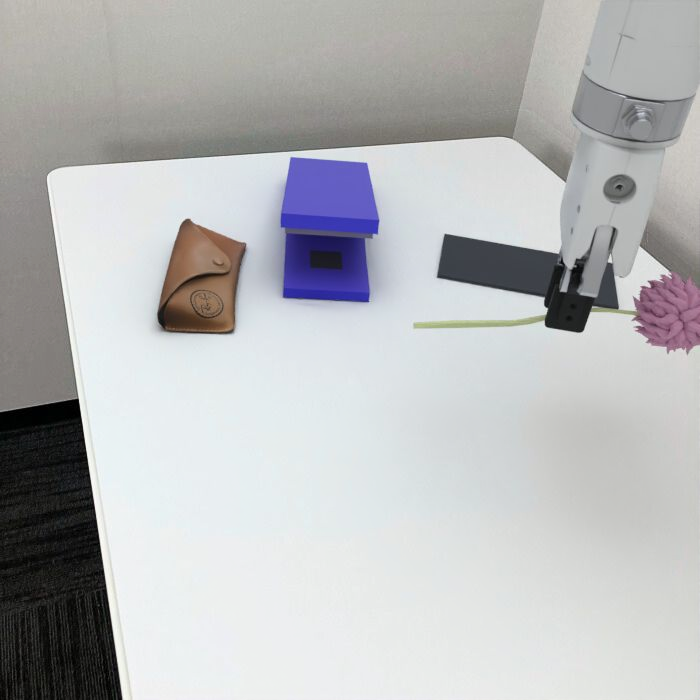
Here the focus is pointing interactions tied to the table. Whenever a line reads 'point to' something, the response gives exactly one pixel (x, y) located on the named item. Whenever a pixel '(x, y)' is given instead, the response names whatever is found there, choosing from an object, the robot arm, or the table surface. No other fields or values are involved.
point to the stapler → (327, 229)
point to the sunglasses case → (201, 282)
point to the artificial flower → (651, 312)
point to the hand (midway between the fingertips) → (562, 317)
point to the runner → (510, 268)
